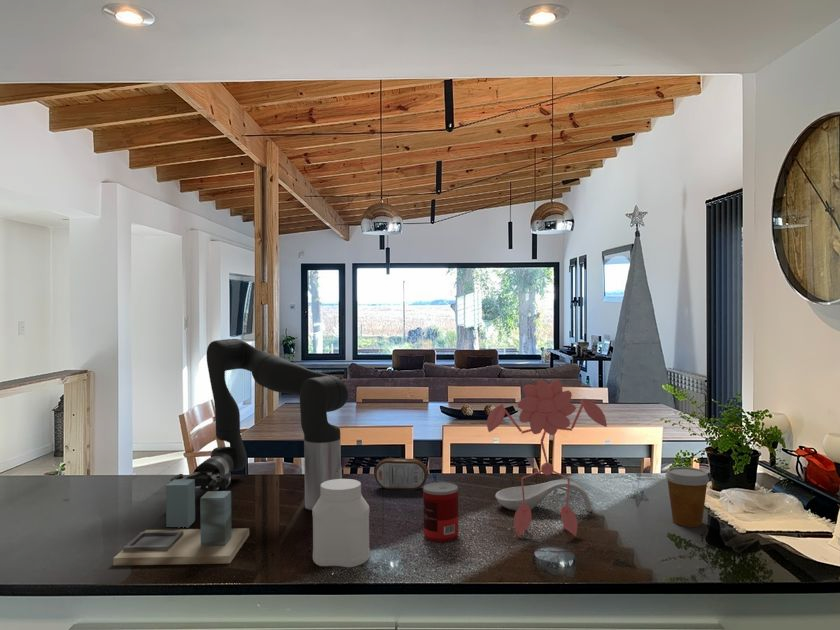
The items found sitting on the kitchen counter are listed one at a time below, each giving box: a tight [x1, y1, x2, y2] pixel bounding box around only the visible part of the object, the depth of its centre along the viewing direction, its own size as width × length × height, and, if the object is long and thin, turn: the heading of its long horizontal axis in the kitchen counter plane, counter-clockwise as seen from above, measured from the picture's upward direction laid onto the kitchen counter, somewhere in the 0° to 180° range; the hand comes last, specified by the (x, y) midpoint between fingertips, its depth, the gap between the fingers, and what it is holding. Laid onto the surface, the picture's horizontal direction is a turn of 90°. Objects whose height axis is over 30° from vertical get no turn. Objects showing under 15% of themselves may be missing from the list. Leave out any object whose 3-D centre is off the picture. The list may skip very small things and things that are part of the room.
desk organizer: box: [112, 490, 250, 566], centre depth 134 cm, size 23×16×12 cm
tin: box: [374, 457, 429, 491], centre depth 178 cm, size 15×3×8 cm, turn 84°
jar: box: [311, 478, 371, 568], centre depth 129 cm, size 12×10×15 cm
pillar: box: [165, 479, 196, 529], centre depth 150 cm, size 5×5×10 cm
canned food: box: [422, 481, 459, 543], centre depth 140 cm, size 8×8×11 cm
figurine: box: [486, 378, 608, 554], centre depth 138 cm, size 15×26×35 cm, turn 85°
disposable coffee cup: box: [664, 466, 710, 528], centre depth 148 cm, size 10×10×12 cm
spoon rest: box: [494, 479, 592, 513], centre depth 160 cm, size 24×12×7 cm, turn 83°
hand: (191, 489), depth 158 cm, fingers open, 8 cm apart
